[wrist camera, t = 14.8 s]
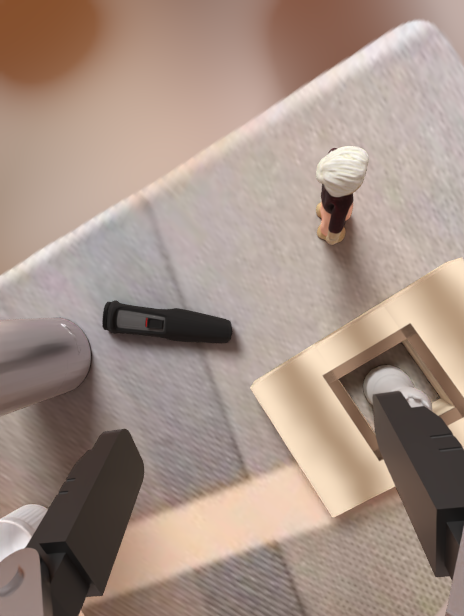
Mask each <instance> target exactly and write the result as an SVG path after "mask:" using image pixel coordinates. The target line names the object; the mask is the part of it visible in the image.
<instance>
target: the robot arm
mask: <svg viewBox="0 0 464 616" xmlns="http://www.w3.org/2000/svg"><path fill="white" fill-rule="evenodd" d="M90 362H91V350H90V346H89V342H88V340H87V338H86V336H85V334H84V333H83V331H82V330H81V329H80V328H79V327H78V326H77V325H76V324H75V323H73V322H71V321H69V320H67V319H63V318H37V319H11V320H0V416H3V415H5V414H8V413H11V412H14V411H16V410H19V409H22V408H25V407H28V406H30V405H33V404H36V403H39V402H41V401H45V400H47V399H50V398H53V397H55V396H58V395H61V394H63V393H66V392H69V391H71V390H73V389H75V388H76V387H78V386H79V385H80V384H81V383H82V382H83V380H84V379H85V377H86V375H87V373H88V370H89V368H90ZM372 399H373V412H374V424H375V434H376V439H377V443H378V447H379V450H380V452H381V455H382V457H383V459H384V462H385V464H386V466H387V468H388V471H389V473H390V475H391V478H392V480H393V482H394V484H395V487H396V489H397V491H398V493H399V496H400V498H401V500H402V502H403V505H404V507H405V509H406V511H407V514H408V516H409V518H410V520H411V523H412V525H413V527H414V530H415V532H416V534H417V536H418V539H419V541H420V543H421V545H422V548H423V550H424V552H425V554H426V557H427V559H428V561H429V563H430V566H431V568H432V570H433V572H434V575H435V577H445V576H450V577H451V579H452V586H451V591H450V595H449V600H448V605H447V610H446V614H445V616H464V449H463V447H462V445H461V444H460V442H459V441H458V440H457V438H456V437H455V436H453V433H452V432H451V430H450V429H449V427H448V426H447V425H446V423H445V422H444V421H443V419H442V418H441V417H439V416H438V415H437V414H435V413H434V412H432V411H431V410H429V409H428V408H426V407H425V406H419V407H412V408H411V406H410V405H409V403H408V402H407V400H406V399H405V397H404V395H403V394H402V393H401V392H400V391H392V392H385V393H378V394H373V397H372ZM143 478H144V464H143V460H142V458H141V456H140V454H139V452H138V450H137V447H136V445H135V443H134V441H133V439H132V437H131V435H130V433H129V431H128V430H127V429H121V430H114V431H107V432H103V433H102V434H101V435H100V436H99V438H98V440H97V442H96V443H95V445H94V447H93V449H92V450H88V451H87V452H86V453H85V454H84V456H83V457H82V458H81V459H80V460H79V461H78V462H77V463H76V464H75V465H74V467H73V469H72V470H71V472H70V474H69V475H68V477H67V479H66V480H67V481H66V482H64V484H63V485H62V487H61V489H60V490H59V495H57V496H56V497H55V499H54V501H53V502H52V504H51V506H50V507H49V509H48V511H47V512H46V514H45V516H44V517H43V519H42V521H41V522H40V524H39V526H38V527H37V529H36V531H35V532H34V534H33V536H32V537H31V539H30V541H29V542H28V544H27V546H26V547H25V548H23V549H20V550H18V551H15V552H13V553H12V554H10V555H9V556H7V557H6V558H4V559H3V560H2V561H1V562H0V616H84V614H83V612H82V610H81V608H82V606H83V603H84V600H85V598H86V597H91V596H103V593H104V590H105V587H106V584H107V581H108V579H109V576H110V573H111V570H112V567H113V564H114V561H115V559H116V556H117V553H118V550H119V547H120V544H121V542H122V539H123V536H124V533H125V530H126V527H127V524H128V522H129V519H130V516H131V513H132V510H133V507H134V504H135V502H136V499H137V496H138V493H139V490H140V487H141V485H142V482H143Z"/></svg>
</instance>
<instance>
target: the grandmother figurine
mask: <svg viewBox="0 0 464 616" xmlns="http://www.w3.org/2000/svg"><path fill="white" fill-rule="evenodd" d="M368 160H369V157H368V154H367V152H366V151H365V150H363V149H362V148H359V147H354V146H345V147H340V148H338V149H337V148H333V149H331V150H330V151H329V153H328V155H327V156H326V157H324V158H323V159H322V160H321V161H320V162H319V164H318V165H317V172H316V178H317V180H318V182H320V183H322V192H321V199H322V202H321V203H319V204H318V205H317V207H316V213H317V215H318V216H319V217H320V218H322V222H321V225H320V226H319V227H318V230H317V235H318V237H319V238H321V239H324V240H326V241H327V243H328V244H330V245H334V244H336V243H339V242H341V241H342V240H343V239H344V237H345V228H344V225H345V221H346V220H348V219H349V218H350V216H351V214H352V209H353V193H354V192H355V191H356V190H357V189H358V188H359V187H360V186H361V184H362V183H363V180H364V177H365V175H366V171H367V165H368Z"/></svg>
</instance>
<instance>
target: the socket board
mask: <svg viewBox="0 0 464 616" xmlns="http://www.w3.org/2000/svg"><path fill="white" fill-rule="evenodd" d="M400 342H402V343H403V345H404V346H405V348H406V349H407V351H408V352H409V353H410V355H411V356H412V358H413V359H414V360H415V362H416V363H417V365H418V366H419V367H420V369H421V370H422V372H423V373H424V375H425V376H426V377H427V379H428V380H429V382H430V383H431V384H432V386H433V387H434V389H435V390H436V391H437V393H438V394H439V396H440V397H441V398H440V399H438V400H436V401H434V402H432V411H433V412H434V413H435V414H437V415H438V416H439V417H441V418H442V419H443V421H444V422H445V423H446V425H447V426H448V427H449V429H450V430H451V432H452V433H453V436H455V437H456V438H457V440H458V441H459V442H460V444H461V445H462V447H463V449H464V259H463V258H462V257H461V258H458V259H455V260H452V261H449V262H446V263H444V264H443V265H441V266H440V267H438V268H436V269H435V270H433V271H431V272H430V273H428V274H427V275H425V276H423V277H422V278H420V279H419V280H417V281H415V282H414V283H412V284H410V285H409V286H407V287H406V288H404V289H402V290H401V291H399V292H398V293H396V294H394V295H393V296H391V297H389V298H388V299H386V300H385V301H383V302H381V303H380V304H378V305H377V306H375V307H373V308H372V309H370V310H368V311H367V312H365V313H364V314H362V315H360V316H359V317H357V318H356V319H354V320H352V321H351V322H349V323H347V324H346V325H344V326H343V327H341V328H339V329H338V330H336V331H335V332H333V333H331V334H330V335H328V336H326V337H325V338H323V339H322V340H320V341H318V342H317V343H315V344H314V345H312V346H310V347H309V348H307V349H305V350H304V351H302V352H301V353H299V354H297V355H296V356H294V357H293V358H291V359H289V360H288V361H286V362H284V363H283V364H281V365H280V366H278V367H276V368H275V369H273V370H272V371H270V372H268V373H267V374H265V375H263V376H262V377H260V378H259V379H257V380H255V381H254V383H253V384H252V386H251V387H250V388H251V390H252V392H253V393H254V395H255V396H256V398H257V400H258V401H259V403H260V404H261V406H262V407H263V409H264V411H265V412H266V414H267V415H268V417H269V418H270V420H271V422H272V423H273V425H274V426H275V428H276V429H277V431H278V433H279V434H280V436H281V437H282V439H283V441H284V442H285V444H286V445H287V447H288V448H289V450H290V452H291V453H292V455H293V456H294V458H295V459H296V461H297V463H298V464H299V466H300V467H301V469H302V470H303V472H304V474H305V475H306V477H307V478H308V480H309V482H310V483H311V485H312V486H313V488H314V489H315V491H316V493H317V494H318V496H319V497H320V499H321V500H322V502H323V504H324V505H325V507H326V508H327V510H328V511H329V513H330V515H331V516H332V518H334V517H336V516H338V515H340V514H342V513H344V512H346V511H348V510H350V509H352V508H354V507H356V506H357V505H359V504H361V503H363V502H365V501H367V500H369V499H371V498H373V497H375V496H377V495H379V494H381V493H383V492H385V491H387V490H389V489H391V488H393V487H395V484H394V482H393V480H392V478H391V475H390V473H389V471H388V468H387V466H386V464H385V462H384V459H383V457H382V455H381V452H380V450H379V447H378V443H377V439H376V434H375V432H374V431H373V429H372V428H371V426H370V425H369V423H368V422H367V420H366V419H365V417H364V416H363V414H362V413H361V411H360V410H359V408H358V407H357V405H356V404H355V402H354V401H353V399H352V398H351V396H350V395H349V394H348V392H347V391H346V389H345V388H344V386H343V385H342V383H341V382H340V380H339V378H341V377H343V376H344V375H346V374H348V373H349V372H351V371H353V370H355V369H356V368H358V367H360V366H361V365H363V364H365V363H366V362H368V361H370V360H372V359H373V358H375V357H377V356H378V355H380V354H382V353H383V352H385V351H387V350H389V349H390V348H392V347H394V346H395V345H397V344H399V343H400Z"/></svg>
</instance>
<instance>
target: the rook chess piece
mask: <svg viewBox="0 0 464 616" xmlns="http://www.w3.org/2000/svg"><path fill="white" fill-rule="evenodd" d="M363 390H364V395H365V396H366V398H367V400H368V402H369V403H371V404H372V405H373V399H372V397H373V394H378V393H385V392H392V391H400V392H401V393H402V394H403V395H404V397H405V399H406V400H407V402H408V403H409V405H410V406H411V408H412V407H419V406H425V407H426V408H428V409H429V410H431V411H432V403H431V401H430V400H429V398H428V396H427V395H426V394H425V393H423V392H422V391H421V390H419V389H415V388H414V384H413V382H412V381H411V379H410V377H409V376H408V375H407V374H406V373H405V372H403V371H402V370H401V369H400V368H397V367H394V366H391V365H384V366H378V367H376V368H374V369H372V370H371V371H370V372H369V373H368V374H367V375H366V377H365V380H364V383H363ZM432 412H433V411H432Z"/></svg>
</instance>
